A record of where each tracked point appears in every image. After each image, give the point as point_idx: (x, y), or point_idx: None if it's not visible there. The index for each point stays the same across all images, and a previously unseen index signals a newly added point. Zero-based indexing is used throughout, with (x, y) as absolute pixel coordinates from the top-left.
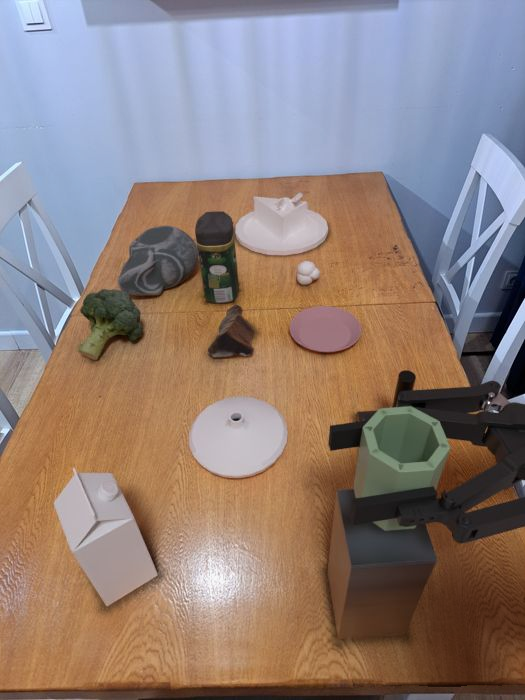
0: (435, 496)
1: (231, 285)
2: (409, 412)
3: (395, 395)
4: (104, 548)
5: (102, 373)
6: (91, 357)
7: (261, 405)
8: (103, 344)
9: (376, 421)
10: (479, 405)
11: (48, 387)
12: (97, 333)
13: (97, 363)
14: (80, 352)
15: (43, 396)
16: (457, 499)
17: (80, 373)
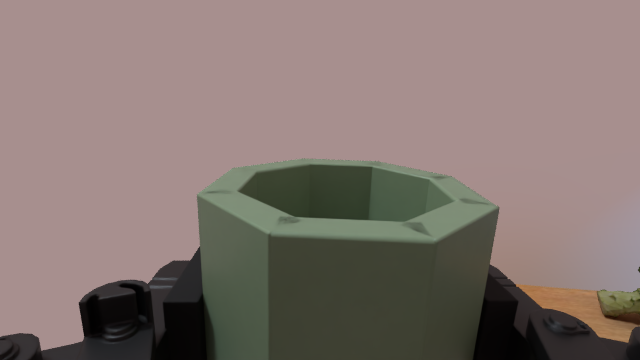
0: (166, 310)
1: None
2: (458, 198)
3: None
4: None
5: (591, 322)
6: (601, 307)
7: None
8: (627, 310)
9: (400, 170)
10: None
11: (539, 289)
12: (632, 295)
13: (601, 317)
14: (597, 295)
15: (526, 288)
16: (98, 357)
17: (575, 307)
